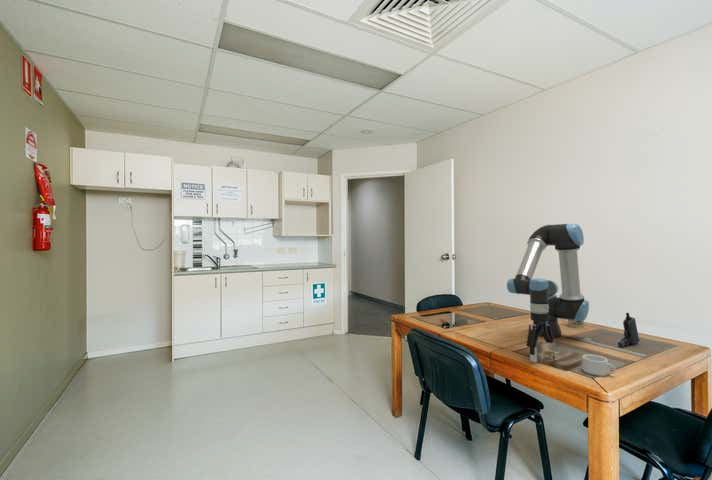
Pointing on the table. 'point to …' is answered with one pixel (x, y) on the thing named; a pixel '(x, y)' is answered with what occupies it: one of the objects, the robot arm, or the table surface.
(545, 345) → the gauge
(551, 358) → the board
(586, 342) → the table surface
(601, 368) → the mug
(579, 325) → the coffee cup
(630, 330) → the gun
